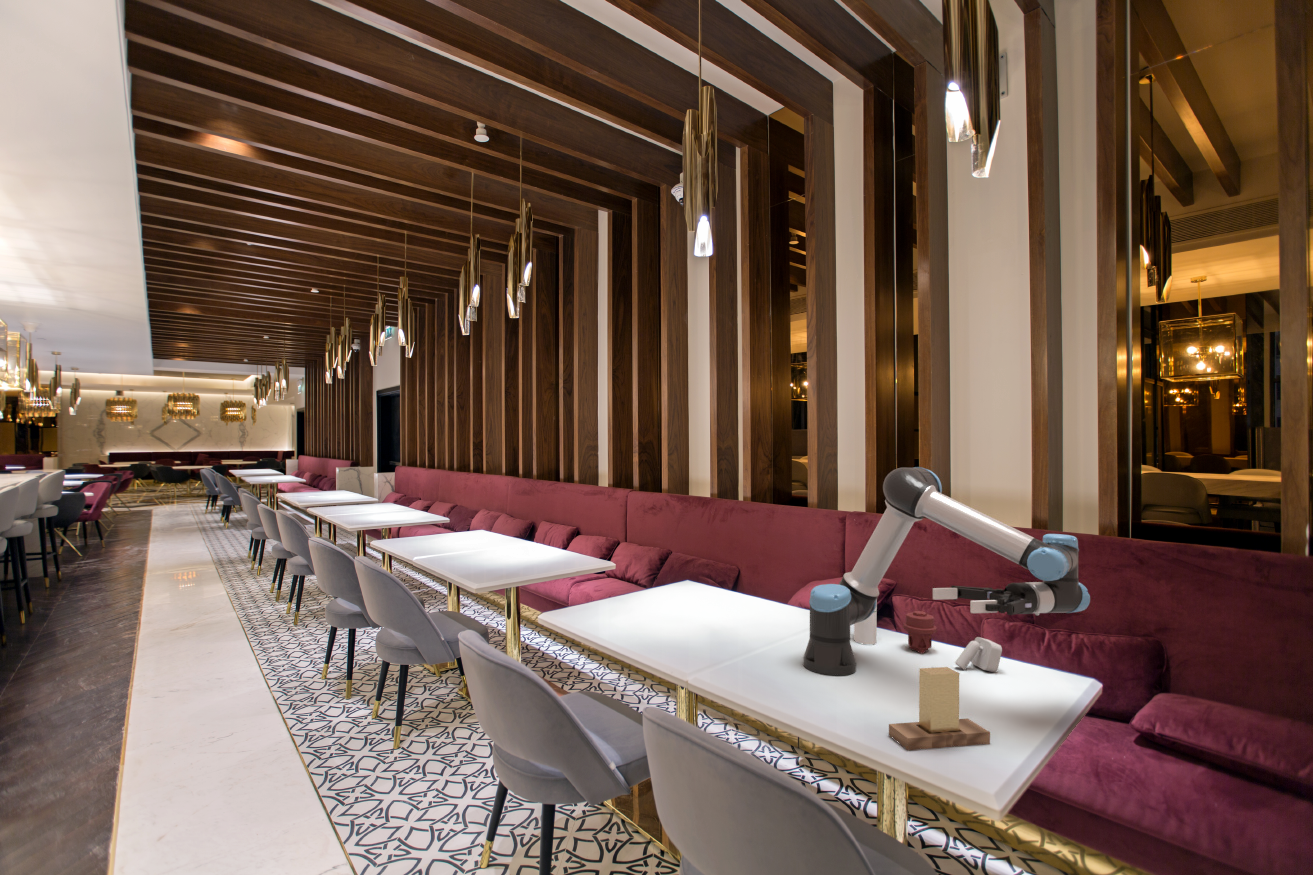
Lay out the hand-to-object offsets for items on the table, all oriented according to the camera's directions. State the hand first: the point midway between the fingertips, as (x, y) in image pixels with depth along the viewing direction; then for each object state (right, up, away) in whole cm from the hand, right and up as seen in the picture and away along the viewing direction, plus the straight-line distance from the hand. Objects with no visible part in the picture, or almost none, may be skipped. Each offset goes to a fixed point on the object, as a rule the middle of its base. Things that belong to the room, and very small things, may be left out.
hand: (951, 600), depth 146 cm
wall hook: (+24, -30, +34) cm, 51 cm away
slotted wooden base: (-9, -27, -13) cm, 32 cm away
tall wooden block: (-9, -27, -13) cm, 32 cm away
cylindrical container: (0, -30, +59) cm, 67 cm away
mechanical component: (+15, -30, +51) cm, 61 cm away
